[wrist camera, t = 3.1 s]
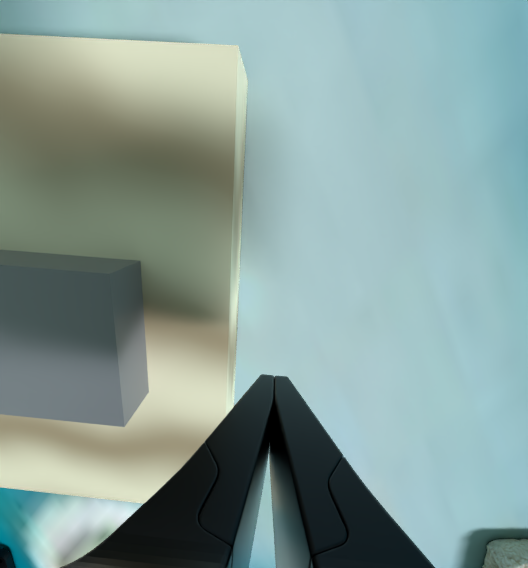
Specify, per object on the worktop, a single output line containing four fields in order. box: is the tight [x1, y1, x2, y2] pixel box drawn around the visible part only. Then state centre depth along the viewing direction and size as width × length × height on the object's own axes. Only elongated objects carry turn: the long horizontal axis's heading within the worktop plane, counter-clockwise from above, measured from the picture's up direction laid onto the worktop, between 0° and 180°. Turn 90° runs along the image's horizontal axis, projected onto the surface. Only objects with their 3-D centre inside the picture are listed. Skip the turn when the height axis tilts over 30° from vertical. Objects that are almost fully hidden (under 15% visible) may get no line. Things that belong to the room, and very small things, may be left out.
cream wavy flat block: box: [0, 34, 248, 503], centre depth 13 cm, size 20×14×2 cm
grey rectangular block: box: [0, 250, 149, 427], centre depth 11 cm, size 6×9×2 cm, turn 86°
